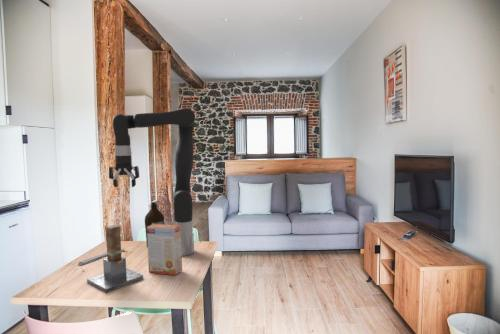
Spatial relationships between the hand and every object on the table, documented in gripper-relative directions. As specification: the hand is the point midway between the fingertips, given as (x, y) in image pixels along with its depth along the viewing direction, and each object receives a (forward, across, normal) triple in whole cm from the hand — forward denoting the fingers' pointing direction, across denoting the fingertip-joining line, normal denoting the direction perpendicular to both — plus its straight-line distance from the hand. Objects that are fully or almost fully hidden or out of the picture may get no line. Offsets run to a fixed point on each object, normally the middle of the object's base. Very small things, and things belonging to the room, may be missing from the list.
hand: (124, 187), depth 155 cm
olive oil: (+36, +9, +18) cm, 41 cm away
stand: (+36, +5, -28) cm, 46 cm away
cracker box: (+36, +24, -20) cm, 48 cm away
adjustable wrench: (+37, -14, +2) cm, 40 cm away
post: (+30, +5, -28) cm, 41 cm away
